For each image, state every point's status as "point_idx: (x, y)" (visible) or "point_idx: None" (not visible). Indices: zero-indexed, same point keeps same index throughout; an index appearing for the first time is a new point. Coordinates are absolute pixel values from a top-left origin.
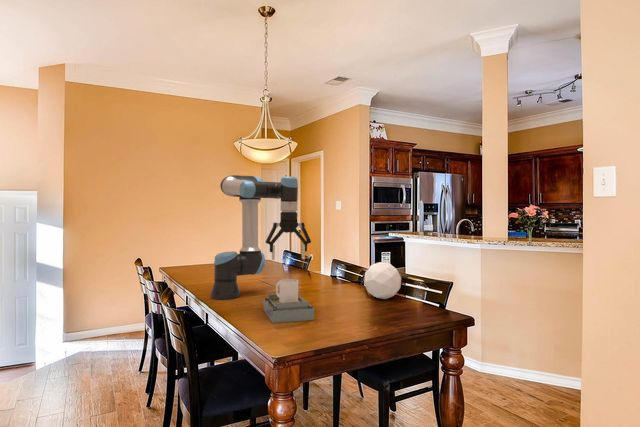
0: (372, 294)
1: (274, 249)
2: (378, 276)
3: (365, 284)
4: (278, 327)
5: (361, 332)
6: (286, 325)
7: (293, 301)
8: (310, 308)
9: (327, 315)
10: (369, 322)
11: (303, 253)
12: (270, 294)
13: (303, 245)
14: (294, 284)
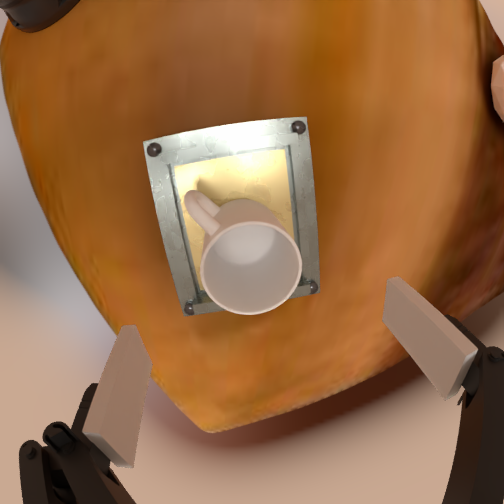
0: (493, 98)
1: (135, 433)
2: None
3: (502, 78)
4: (205, 329)
5: (372, 355)
6: (226, 317)
7: (258, 269)
8: (307, 294)
9: (356, 234)
10: None
11: (406, 348)
12: (166, 159)
13: (442, 396)
14: (273, 301)
